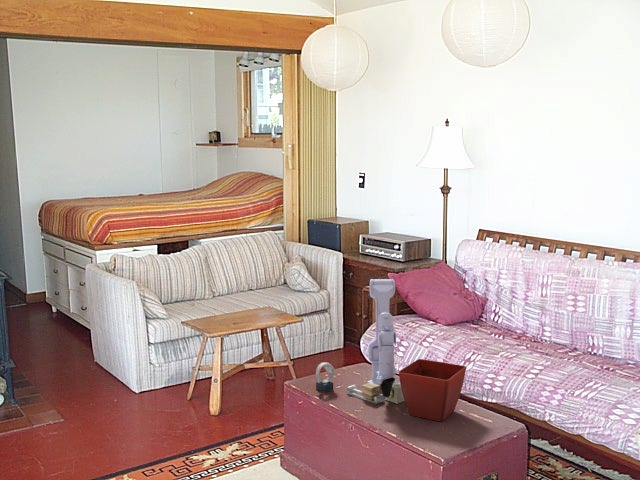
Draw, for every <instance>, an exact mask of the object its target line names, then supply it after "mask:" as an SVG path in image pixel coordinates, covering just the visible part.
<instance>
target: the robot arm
mask: <svg viewBox="0 0 640 480" xmlns="http://www.w3.org/2000/svg"><path fill="white" fill-rule="evenodd" d="M395 292H396V281H395V279H394V278H384V279H382V278H379V279H378V278H376V279H375V278H374V279H373V278H371V279H370V280H369V296H370V298H372V299H373V300H374V302H375V337H374V338H373V339H372V340H370V341H369V343H368V350H367V352H368V356H367V357H368V360H369V362H371V379H370V380H367V383H373V384H376V385H379V386H380V388H381V389H380V390H381V392H382V393H381V394H383V397H384V398H385V397H389V396H390V392H391V388H392V385H393V383H394V381H397V380H396V374H397V372H398V371H397V368H395V367H396V366H395V348H396V347H395V346H396V345H397V333H396V329H395V326H394V316H393V315H392V314H391V313H390V299H391V298H393V297H394V295H395Z"/></svg>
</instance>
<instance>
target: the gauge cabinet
mask: <svg viewBox="0 0 640 480" xmlns="http://www.w3.org/2000/svg"><path fill="white" fill-rule="evenodd" d="M391 390H394V396H393V397H391V398H388V397H384V400H385V401H388V402H391V403H395V404H397V405H398V404H400V403H403V402H405V400H404V397H403V393H402V389H401V384H400V381H397V380H396V381H394V383H393V385H392V388H391Z"/></svg>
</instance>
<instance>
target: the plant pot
mask: <svg viewBox="0 0 640 480" xmlns="http://www.w3.org/2000/svg"><path fill="white" fill-rule="evenodd" d="M466 369H467V366H466V365H461V364H455V363H449V362H442V361H437V360H429V359H425V358H418V359H415V361H413V362H412V363H410V364H408V365H407V366H404V368H402V369H400V370H398V377H399V382H400V384H401V389H402V393H403V397H404V400H405V401H404V403H405V406H406V410H407V412H408V414H409V416H412V417H413V416H414V417H416V418H417V417H418V418H422V419H427V420H430V421H437V422H443V421H444V420H445V419H447V418H448V417H449V416H450V415H452V414H453V413H454V412H455V409H456V407H457V404H458V401H459V399H460V395H461V392H462V388H463V386H464V385H463V384H464V381H465V375H466V372H467V370H466Z"/></svg>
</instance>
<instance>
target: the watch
mask: <svg viewBox="0 0 640 480" xmlns="http://www.w3.org/2000/svg"><path fill="white" fill-rule="evenodd" d="M333 366H334V365H332V364H331V363H329V362H325V361H324V362H320V363H319V364H318V365H317V367H316V368H315V377H316V379H317V381H316V382H315V390H317V391H319V392H322V393H325V394H326V393H329V392H333V391H334V382H332V379H333V378H334V375H335V369H336V368H335V367H333ZM322 368H324V370H325V371H326V372H327V374H328V375H327V378H326V379H323V378H322V375H321V373H320V372H321V369H322Z"/></svg>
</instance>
